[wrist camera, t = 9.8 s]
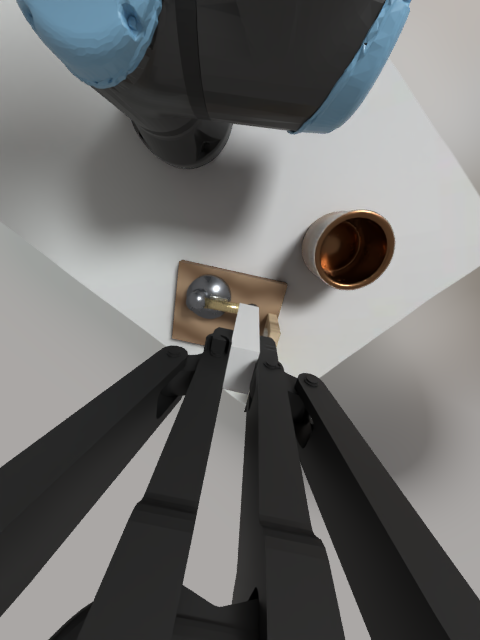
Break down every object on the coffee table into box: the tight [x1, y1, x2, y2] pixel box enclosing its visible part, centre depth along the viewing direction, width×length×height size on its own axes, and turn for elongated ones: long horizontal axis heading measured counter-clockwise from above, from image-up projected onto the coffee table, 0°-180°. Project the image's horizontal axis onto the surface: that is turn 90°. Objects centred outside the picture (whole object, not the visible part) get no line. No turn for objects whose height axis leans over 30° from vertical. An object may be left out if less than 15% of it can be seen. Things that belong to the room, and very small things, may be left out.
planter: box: [302, 210, 395, 290], centre depth 35 cm, size 11×11×10 cm
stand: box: [172, 260, 288, 347], centre depth 41 cm, size 16×20×10 cm
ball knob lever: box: [186, 274, 258, 319], centre depth 40 cm, size 13×8×6 cm, turn 81°
